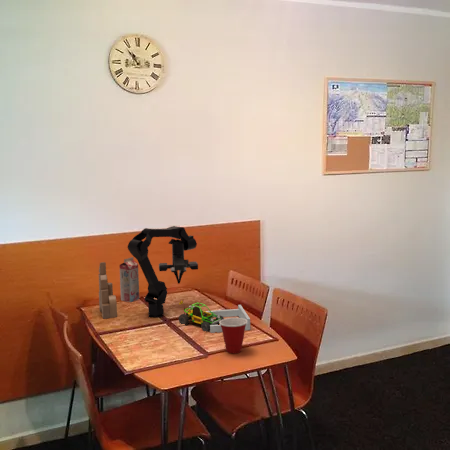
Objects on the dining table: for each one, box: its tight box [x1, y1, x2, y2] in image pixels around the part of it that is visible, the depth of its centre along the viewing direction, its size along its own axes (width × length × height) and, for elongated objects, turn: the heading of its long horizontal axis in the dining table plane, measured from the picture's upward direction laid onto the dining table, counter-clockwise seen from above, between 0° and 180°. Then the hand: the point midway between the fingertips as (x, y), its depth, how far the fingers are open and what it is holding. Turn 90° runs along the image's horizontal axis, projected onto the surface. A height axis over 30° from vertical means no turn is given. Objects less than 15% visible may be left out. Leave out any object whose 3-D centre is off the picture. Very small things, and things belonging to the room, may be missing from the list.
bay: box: [205, 304, 251, 334], centre depth 213 cm, size 17×19×5 cm
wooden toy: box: [98, 261, 118, 320], centre depth 227 cm, size 15×7×25 cm, turn 21°
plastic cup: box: [219, 317, 247, 354], centre depth 184 cm, size 11×11×12 cm
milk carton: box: [119, 256, 140, 303], centre depth 247 cm, size 7×7×22 cm
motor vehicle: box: [178, 300, 225, 333], centre depth 213 cm, size 12×19×11 cm, turn 53°
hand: (178, 283), depth 235 cm, fingers closed
